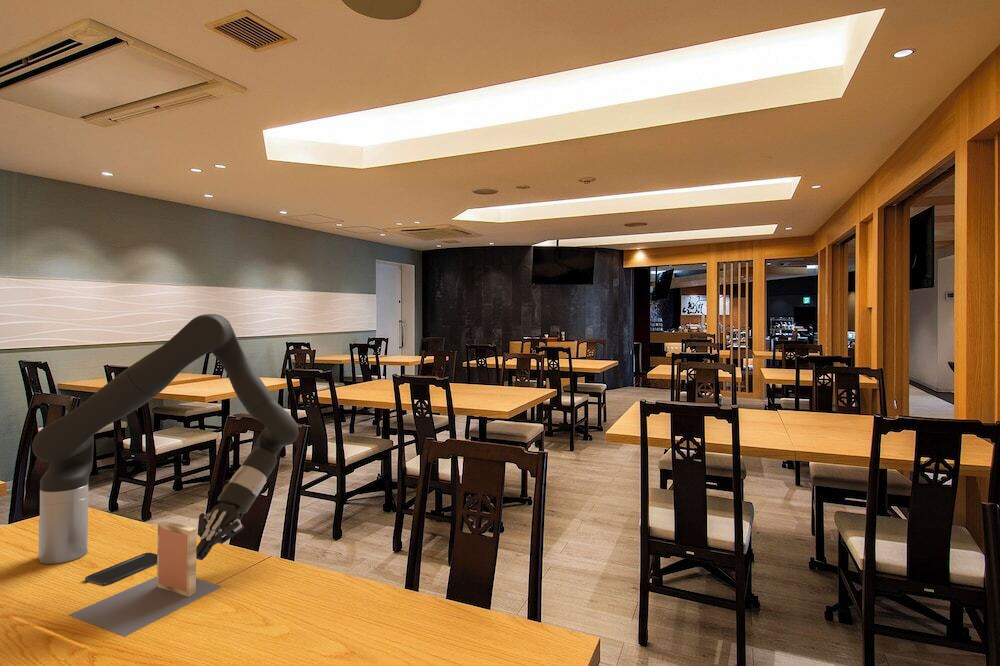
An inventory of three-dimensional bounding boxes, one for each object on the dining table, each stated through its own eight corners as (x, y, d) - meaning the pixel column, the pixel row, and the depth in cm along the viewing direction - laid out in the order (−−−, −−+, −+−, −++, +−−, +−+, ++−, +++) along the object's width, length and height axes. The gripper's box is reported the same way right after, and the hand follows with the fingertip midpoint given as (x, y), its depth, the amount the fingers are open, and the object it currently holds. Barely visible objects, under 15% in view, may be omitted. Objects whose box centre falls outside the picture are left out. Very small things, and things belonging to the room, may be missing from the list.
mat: (68, 616, 106) (68, 614, 106) (170, 572, 125) (170, 570, 125) (124, 638, 99) (124, 636, 99) (223, 588, 118) (223, 586, 118)
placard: (156, 587, 117) (156, 523, 117) (164, 583, 119) (164, 520, 119) (187, 597, 113) (188, 531, 113) (195, 593, 115) (196, 528, 115)
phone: (82, 578, 120) (147, 551, 134) (82, 583, 120) (147, 556, 134) (106, 584, 117) (170, 557, 131) (106, 589, 117) (170, 561, 131)
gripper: (214, 477, 132) (165, 545, 121) (254, 485, 127) (207, 557, 116) (232, 492, 137) (187, 559, 126) (271, 500, 132) (228, 571, 121)
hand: (196, 558), depth 121 cm, fingers closed
